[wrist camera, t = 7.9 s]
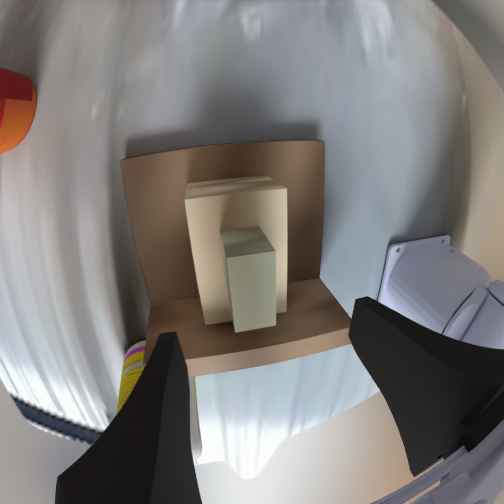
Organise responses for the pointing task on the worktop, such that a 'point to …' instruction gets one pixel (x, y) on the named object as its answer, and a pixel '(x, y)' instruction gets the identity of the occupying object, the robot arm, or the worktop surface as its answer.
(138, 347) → the supplement bottle
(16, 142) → the coffee cup
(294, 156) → the cleat board
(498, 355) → the robot arm
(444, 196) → the worktop surface
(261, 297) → the saddle block
